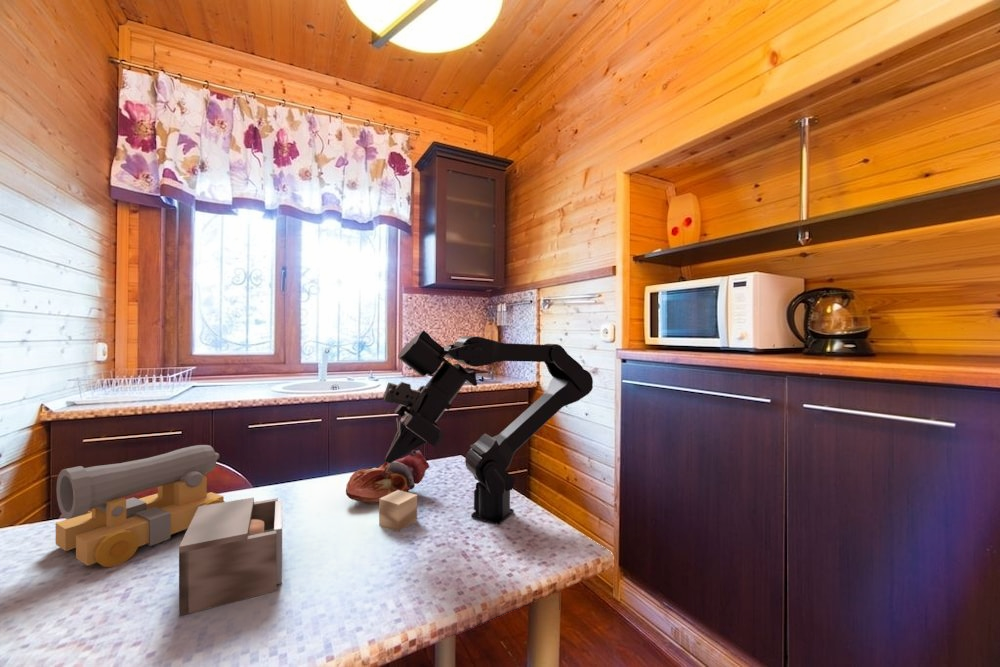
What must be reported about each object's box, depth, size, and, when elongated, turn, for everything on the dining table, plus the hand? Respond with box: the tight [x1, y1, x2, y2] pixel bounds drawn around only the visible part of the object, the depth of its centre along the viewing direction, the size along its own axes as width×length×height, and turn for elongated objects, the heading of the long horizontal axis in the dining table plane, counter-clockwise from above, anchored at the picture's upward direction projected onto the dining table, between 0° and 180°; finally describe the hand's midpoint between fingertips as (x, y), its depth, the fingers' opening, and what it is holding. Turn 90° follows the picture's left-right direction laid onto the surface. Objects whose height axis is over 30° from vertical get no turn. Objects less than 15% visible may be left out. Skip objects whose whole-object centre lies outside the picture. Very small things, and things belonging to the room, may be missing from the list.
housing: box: [178, 497, 279, 617], centre depth 61 cm, size 11×14×9 cm
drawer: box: [264, 499, 283, 585], centre depth 61 cm, size 10×11×8 cm
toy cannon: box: [55, 444, 226, 568], centre depth 74 cm, size 16×22×15 cm
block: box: [378, 490, 418, 532], centre depth 78 cm, size 5×5×5 cm
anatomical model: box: [345, 449, 430, 505], centre depth 89 cm, size 11×13×15 cm
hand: (386, 461), depth 73 cm, fingers closed
